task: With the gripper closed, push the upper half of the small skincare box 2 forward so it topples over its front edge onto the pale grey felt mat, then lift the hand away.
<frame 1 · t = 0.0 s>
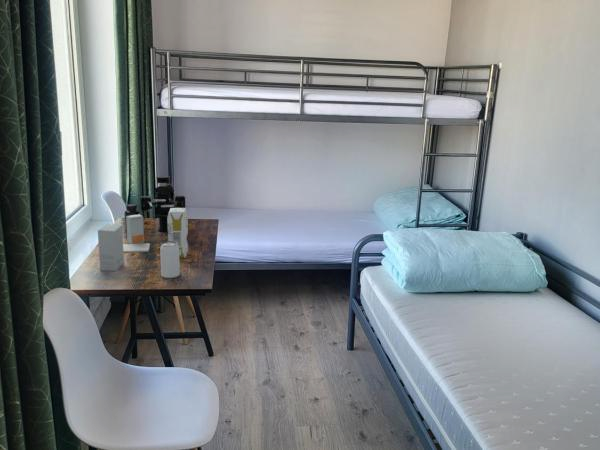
hand: (162, 207, 213), 17 cm above the table, tool horizontal, fingers open, 9 cm apart
juice carton: (178, 255, 204), on the table
skincare box 2: (136, 243, 219), on the table
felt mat: (134, 248, 211), on the table
supplement bottle: (132, 230, 239), on the table
skincare box: (112, 267, 188), on the table
can: (170, 276, 181), on the table
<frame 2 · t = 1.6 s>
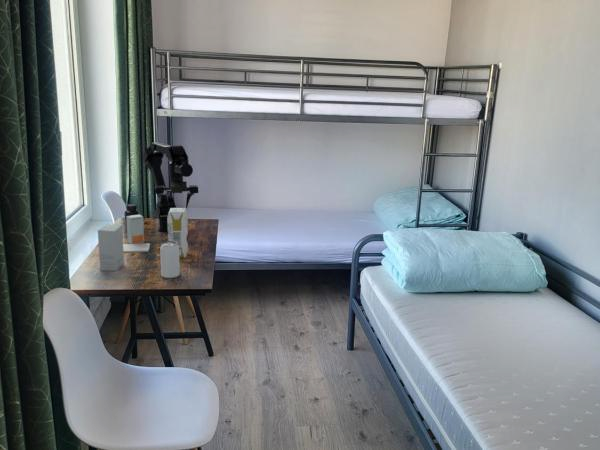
hand: (177, 208, 228), 13 cm above the table, tool pointing down, fingers open, 8 cm apart
nothing on the table moved.
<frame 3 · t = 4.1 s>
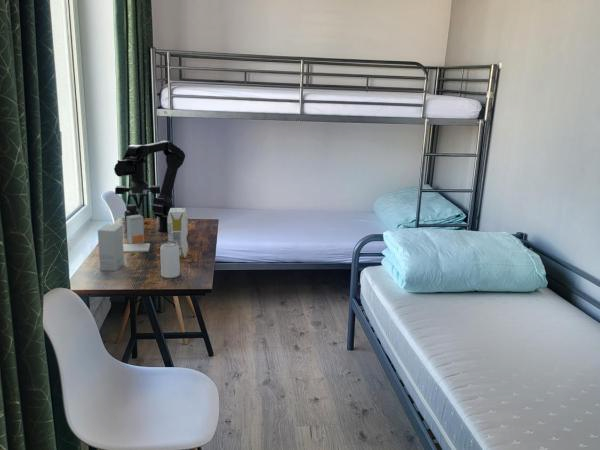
hand: (138, 208, 224), 13 cm above the table, tool pointing down, fingers closed
nothing on the table moved.
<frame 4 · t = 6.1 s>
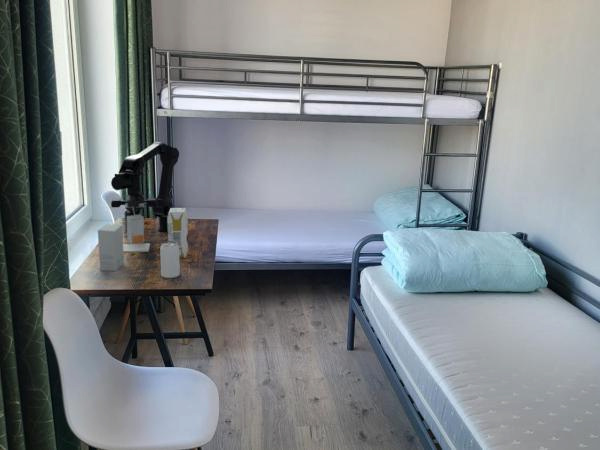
hand: (135, 221, 221), 8 cm above the table, tool pointing down, fingers closed
skincare box 2: (136, 243, 219), on the table, touching gripper
everything else where it was.
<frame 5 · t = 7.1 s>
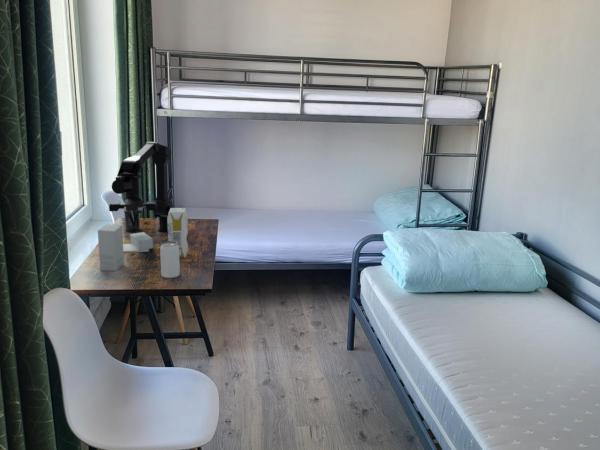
hand: (134, 226, 214), 8 cm above the table, tool pointing down, fingers closed
skincare box 2: (137, 237, 217), point 3 cm above the table, touching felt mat
everything else where it was.
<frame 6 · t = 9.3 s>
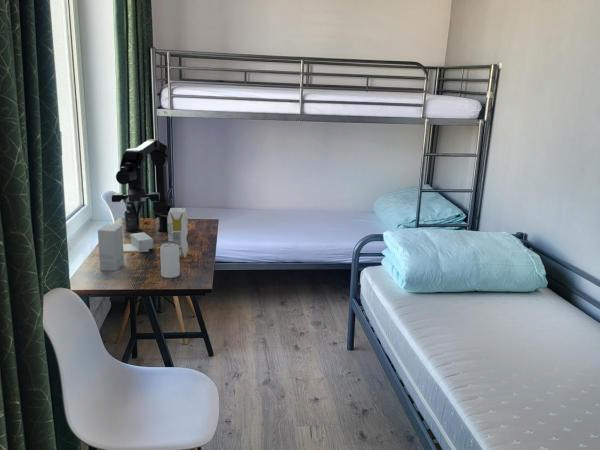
hand: (137, 217, 211), 13 cm above the table, tool pointing down, fingers closed
nothing on the table moved.
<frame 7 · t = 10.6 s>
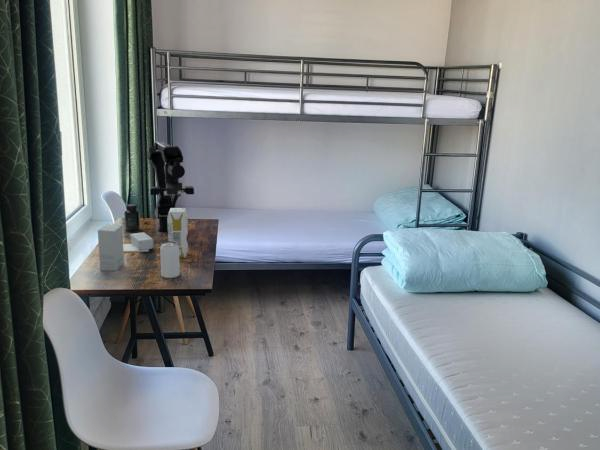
hand: (173, 209, 225), 13 cm above the table, tool pointing down, fingers closed
nothing on the table moved.
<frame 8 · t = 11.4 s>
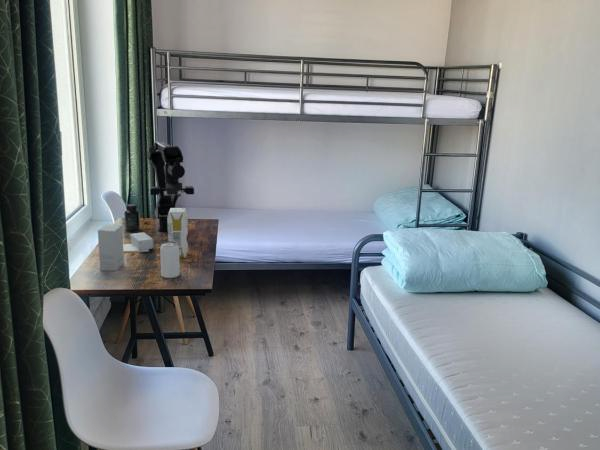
hand: (173, 209, 225), 13 cm above the table, tool pointing down, fingers closed
nothing on the table moved.
at the end: skincare box 2 tilted 90°; skincare box 2 touching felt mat; skincare box 2 inside the target area (4.3 cm from its centre), point 2.7 cm above the table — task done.
